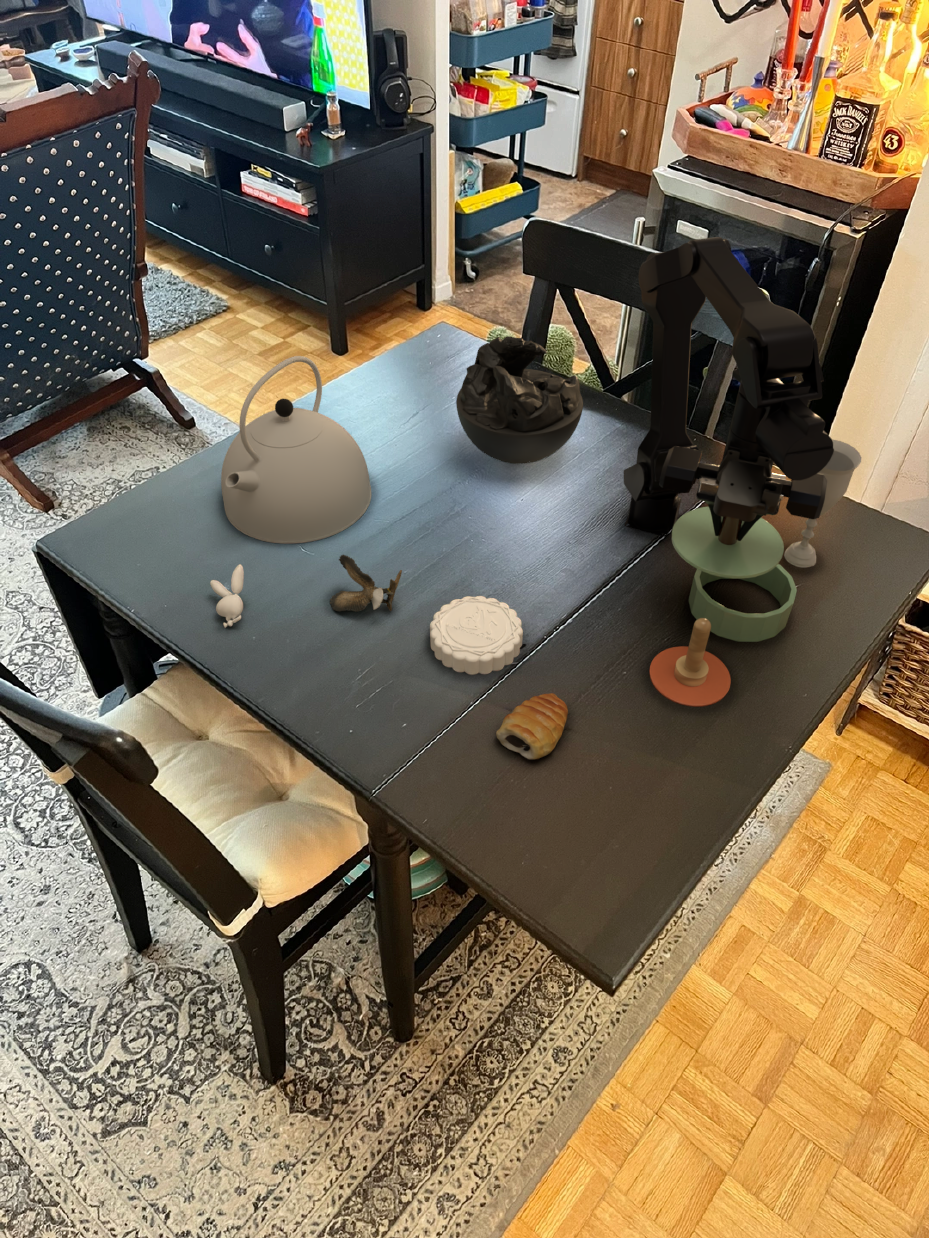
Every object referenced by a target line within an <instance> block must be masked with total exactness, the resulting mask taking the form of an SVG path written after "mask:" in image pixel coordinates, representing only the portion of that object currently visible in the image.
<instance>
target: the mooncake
mask: <svg viewBox="0 0 929 1238" xmlns="http://www.w3.org/2000/svg"><path fill="white" fill-rule="evenodd" d="M522 624H523V623H522V620H521V618H519V617H518V613H517V611H516V610H515V609H512V608H510V606H509V605H508V604H507V603H506V602H500V601H499V600H498V599H497V598H493V597H487V598H486V597H485V596H483V595H477V596H469V595H468V596H464V597H462V598H461V599H459V598H457V599H456V598H455V599H453V600H451V601H450V602H449V603H447V604H443V605H442V606H441V607H440V609H439V611H436V612H435V613H434V614H433V619H432V621H431V622H430V624H429V634H430V635H429V637H430V639H429V640H430V648H431V650H432V651H433V652H434V657H435V658H436V660H439V661H441V663H442V665H443V666H444V667H446V668H452V670H453V671H455V672H456V673H464V672H465V673H466V674H468V675H471V676H472V675H477V674H481V675H488V674H490V673H492V671H493V672H499V671H501V670H502V669H504V668H505V666H509V665H511V664H512V663H513V662H514V658H517V657H518V656H519V655H520V652H521V651H520V650H521V648H522V646H523V637H524V636H523V635H524V633H523V632H524V630H523V627H522Z"/></svg>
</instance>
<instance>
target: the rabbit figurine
mask: <svg viewBox="0 0 929 1238" xmlns="http://www.w3.org/2000/svg"><path fill="white" fill-rule="evenodd" d="M244 571H245V570H244V567H243V564H241V563H240V564H237V566H236V567H235V568H234V569H233V572H232V574H231V579H230V580H231V581H230V586H231V587H230V588H231V591H230V590H228V589H227V587H225V586H224V584H222V582H220V581H218V580H216V579H211V580H210V587H211V589H212V590H213V592H214V593H215V594H216V595H218V596H219V597H221V599H220V600H219V601H218V602H217V604H216V607H215V611H216V613H217V614H218V615H219V616H220V617H222V618H223V617H224V618H225V621H226V622H223V624H222V625H223V627H224V629H226V628H227V627H232V626H233V625H234V624H235V623H238V622H239V621H241V619H242V615H241V614H242V613H243V611H244V602H243V599H242V598H241V596H239V594H240V593H242V591H243V588H244V579H245V578H244V577H245V572H244Z"/></svg>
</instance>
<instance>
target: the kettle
mask: <svg viewBox="0 0 929 1238" xmlns="http://www.w3.org/2000/svg"><path fill="white" fill-rule="evenodd" d="M295 363H304V364H307V365H308V366H309V367H310V368H311V370H312V372H313V374H314V378H315V384H316V391H315V392H316V394H315V399H314V404H313V407H312V410H310V409H306V408H301V407H294V404H293V402H292V401H291V400H290V399H288V398H280V399H277V400H276V402H275V404H274V409H273V410H271V411H268V412H266V413H263V414H262V415H260V416H258V417H256V418H254V419H253V420H252V421H250V422H249V423H248V424H246V422H247V415H248V412H249V408H250V405H251V404H252V401H253V399H254V398H255V396H256V394H257V393H258V392H259V391H260V389H261V388H262V387H263V386H264V385H265V384H266V382H268V381H269V380H270V379H271V378H272V377H273V376H275V375H276V374H277V373H279V372H280V371H282V370H284V368H286V367H287V366H289V365H292V364H295ZM322 383H323V382H322V376H321V373H320V370H319V368H318V366H317V365H316V363H315V362H314V361H313V360H312V359H310V358H308V357H307V356H304V355H295V356H291V357H288V358H286V359H284V360H282V361H280V362H279V363H278V364H276V365H275V366H273V367H272V368H270V369H269V370H268V371H267V372H265V374H264V375H262V376H261V377H260V379H258V381H256V383H255V384H254V385H253V387H252V388H251V390H250V391H249V392H248V394H247V395H246V398H245V399H244V401H243V404H242V407H241V410H240V415H239V432H238V433H237V434H236V436H235V437H234V438H233V440H232V442H230V444H229V447H228V448H227V450H226V453H225V456H224V459H223V462H222V467H221V475H220V485H221V495H222V500H223V508H224V513H225V515H226V518H227V519H228V521H229V522H230V523H231V525H232V526H233V527H234V528H235V529H236V530H238V531H239V532H240V533H242V534H244V535H245V536H248V537H250V538H253V539H254V540H255V539H256V540H259V541H262V542H267V543H273V544H285V545H288V544H292V545H293V544H304V543H311V542H316V541H320V540H324V539H327V538H329V537H333V536H335V535H337V534H339V533H341V532H343V531H345V530H347V529H348V528H349V527H351V526H352V525H355V523H356V522H358V521H359V520H360V519H361V518H362V517H363V516H364V514H365V513H366V511H367V510H368V508H369V507H370V504H371V501H372V486H371V480H370V473H369V467H368V465H367V461H366V459H365V456H364V454H363V451H362V450H361V447H360V445H359V444H358V442H357V440H355V439H354V437H353V435H351V434H350V433H349V431H348V430H346V428H345V427H343V426H342V425H341V424H340V423H338V422H337V421H336V420H334V419H332V418H331V417H329V416H327V415H325V414H322V413H320V412H319V411H320V410H319V409H320V405H321V401H322V396H323V384H322Z"/></svg>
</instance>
